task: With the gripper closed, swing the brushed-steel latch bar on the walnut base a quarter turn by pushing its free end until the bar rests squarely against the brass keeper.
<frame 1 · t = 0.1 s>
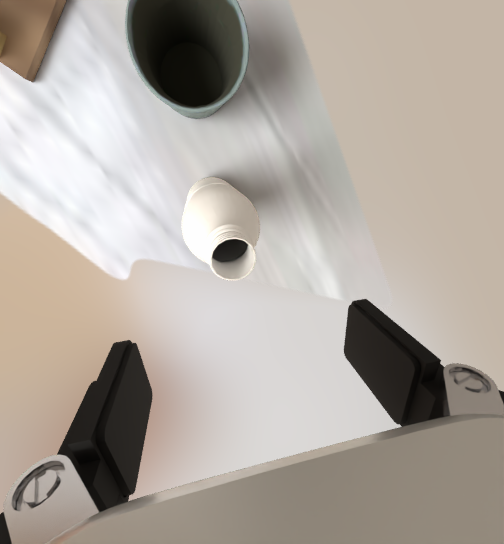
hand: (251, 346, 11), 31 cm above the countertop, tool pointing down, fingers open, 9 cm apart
water bottle: (211, 200, 38), on the countertop
green plant pot: (192, 82, 32), on the countertop
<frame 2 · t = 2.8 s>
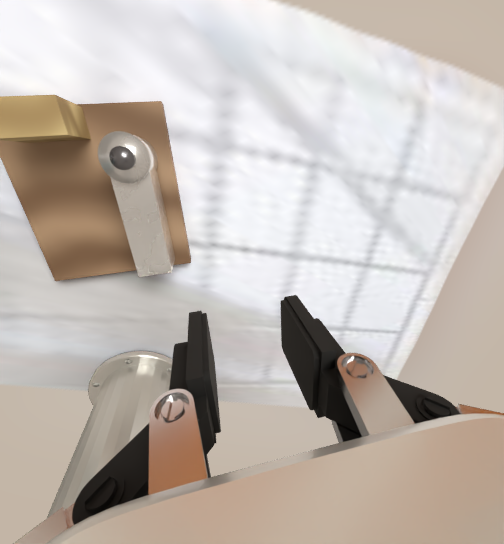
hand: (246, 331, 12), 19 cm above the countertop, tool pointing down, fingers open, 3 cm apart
latch bar: (142, 208, 22), point 5 cm above the countertop, hinge at 0.0°
lock base: (108, 197, 26), on the countertop
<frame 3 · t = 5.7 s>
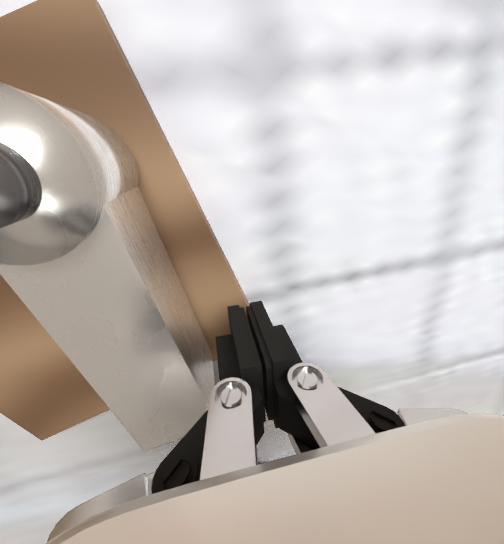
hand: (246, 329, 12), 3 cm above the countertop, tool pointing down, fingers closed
latch bar: (119, 300, 9), point 5 cm above the countertop, hinge at 7.8°, touching gripper
lock base: (71, 269, 12), on the countertop
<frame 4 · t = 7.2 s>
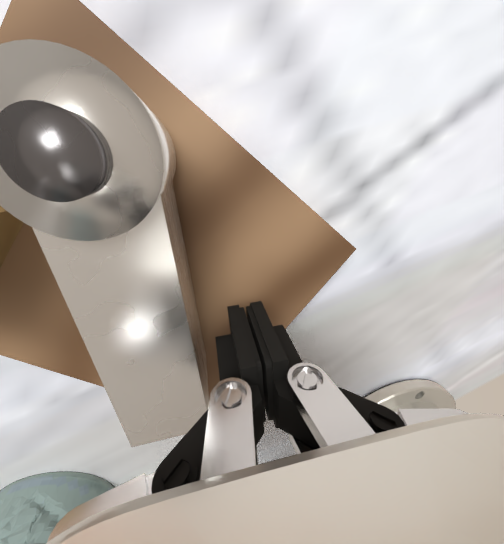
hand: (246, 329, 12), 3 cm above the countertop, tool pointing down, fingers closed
latch bar: (139, 289, 8), point 5 cm above the countertop, hinge at 47.6°, touching gripper
lock base: (156, 265, 13), on the countertop
green plant pot: (55, 501, 19), on the countertop
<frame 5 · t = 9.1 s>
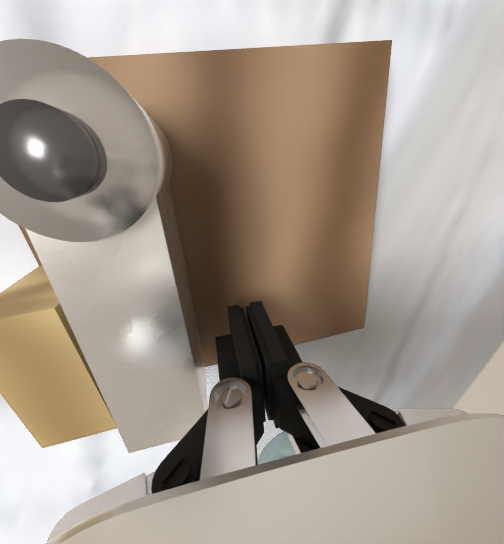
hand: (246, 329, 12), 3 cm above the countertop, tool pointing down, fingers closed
latch bar: (135, 291, 8), point 5 cm above the countertop, hinge at 92.0°, touching gripper, lock base
lock base: (222, 234, 13), on the countertop
green plant pot: (299, 451, 23), on the countertop
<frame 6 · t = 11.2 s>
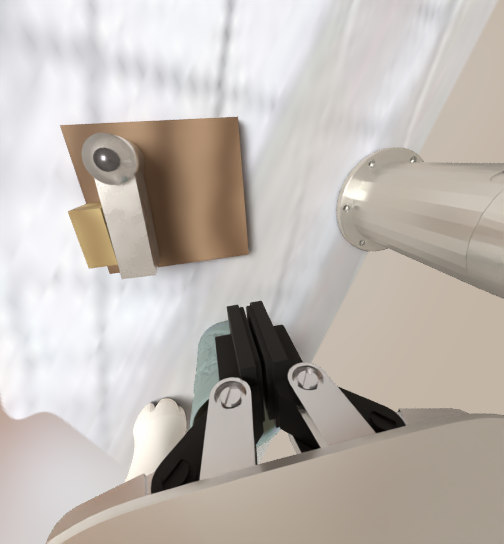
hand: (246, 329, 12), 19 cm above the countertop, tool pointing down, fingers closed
latch bar: (127, 210, 22), point 5 cm above the countertop, hinge at 92.0°
water bottle: (162, 409, 39), on the countertop
lock base: (170, 198, 27), on the countertop
green plant pot: (226, 344, 37), on the countertop
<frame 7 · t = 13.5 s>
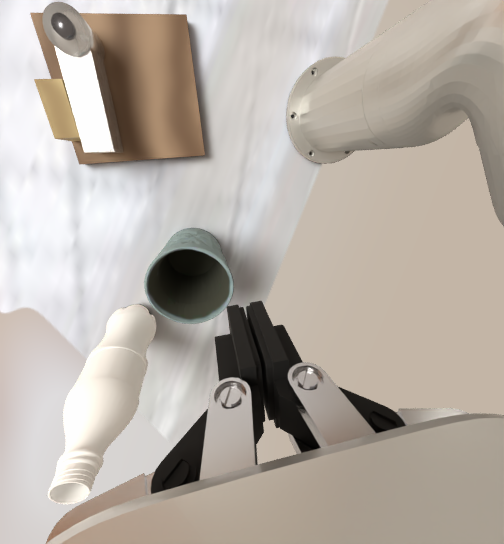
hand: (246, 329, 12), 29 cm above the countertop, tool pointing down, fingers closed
latch bar: (87, 89, 26), point 5 cm above the countertop, hinge at 92.0°
water bottle: (136, 317, 43), on the countertop
lock base: (132, 96, 31), on the countertop
green plant pot: (192, 253, 40), on the countertop
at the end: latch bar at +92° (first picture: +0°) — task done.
